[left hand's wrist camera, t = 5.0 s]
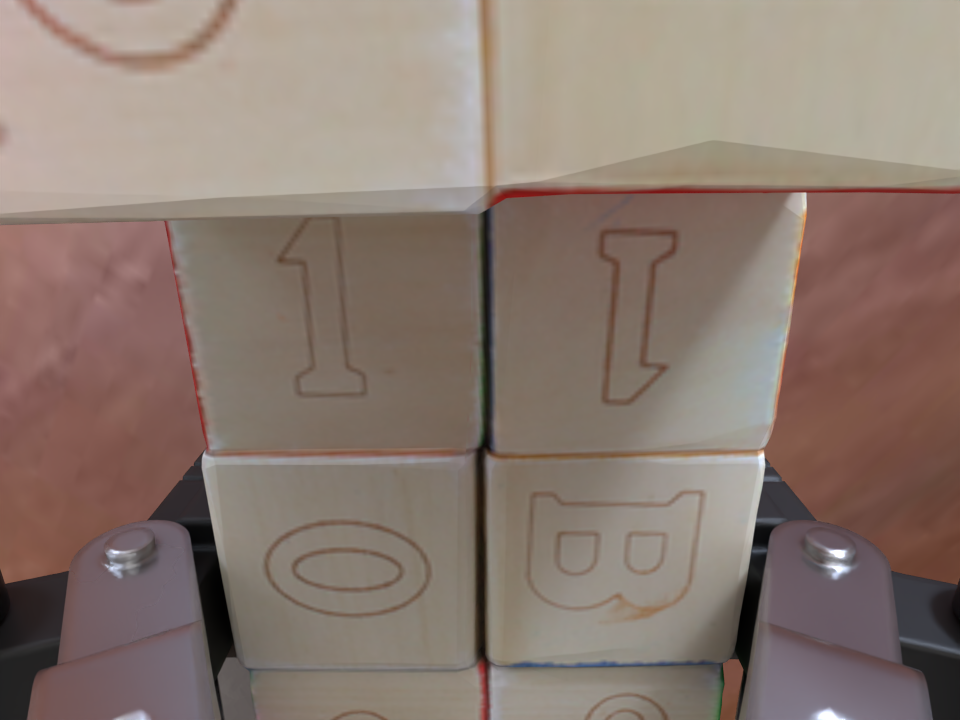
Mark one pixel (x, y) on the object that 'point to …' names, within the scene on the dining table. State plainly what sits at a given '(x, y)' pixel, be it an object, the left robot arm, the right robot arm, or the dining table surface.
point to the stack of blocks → (479, 308)
